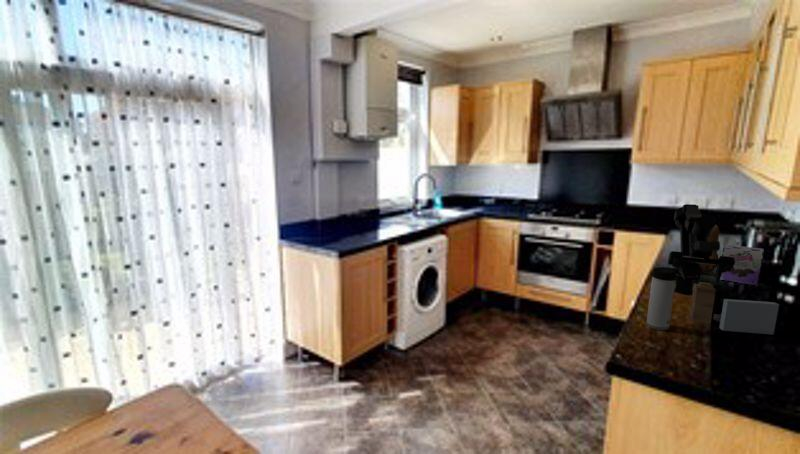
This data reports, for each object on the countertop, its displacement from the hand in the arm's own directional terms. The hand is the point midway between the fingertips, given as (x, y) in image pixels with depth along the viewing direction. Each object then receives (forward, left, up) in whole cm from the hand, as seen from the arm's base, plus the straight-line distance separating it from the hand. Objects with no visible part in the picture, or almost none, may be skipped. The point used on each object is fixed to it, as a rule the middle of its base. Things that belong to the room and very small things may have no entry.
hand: (701, 280), depth 136 cm
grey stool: (-1, +12, -12) cm, 17 cm away
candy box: (-60, -12, -12) cm, 62 cm away
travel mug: (+24, +1, -12) cm, 27 cm away
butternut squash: (-61, -28, -12) cm, 68 cm away
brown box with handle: (+5, +4, -12) cm, 14 cm away
